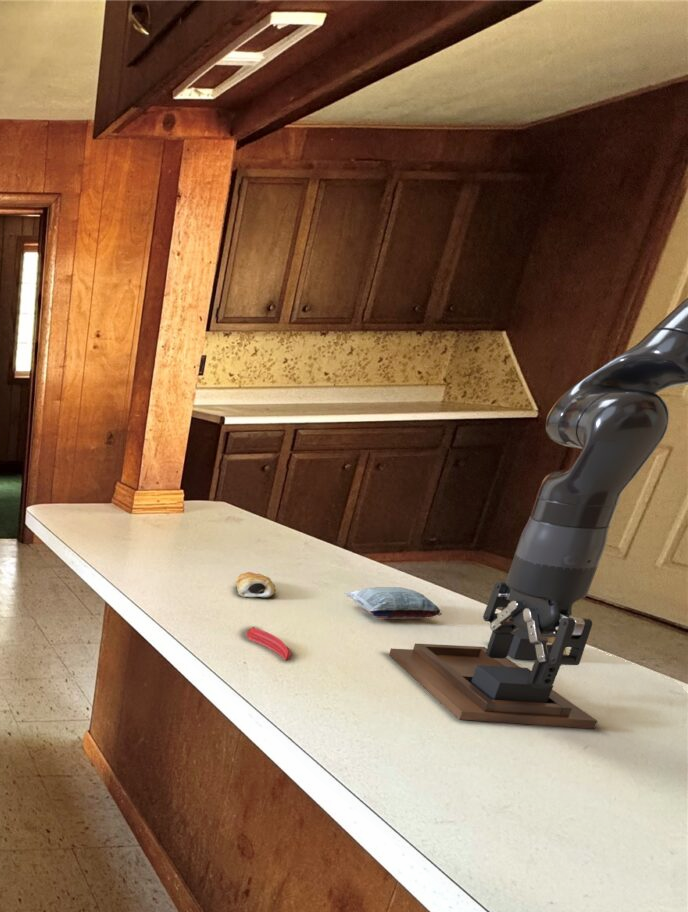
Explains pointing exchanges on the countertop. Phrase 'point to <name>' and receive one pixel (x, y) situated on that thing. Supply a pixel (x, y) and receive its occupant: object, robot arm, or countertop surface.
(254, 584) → the pastry
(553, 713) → the brown base tray
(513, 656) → the dark gray block
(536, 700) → the dark grey block
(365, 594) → the packaged food
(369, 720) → the countertop surface
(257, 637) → the cayenne pepper
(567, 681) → the countertop surface
